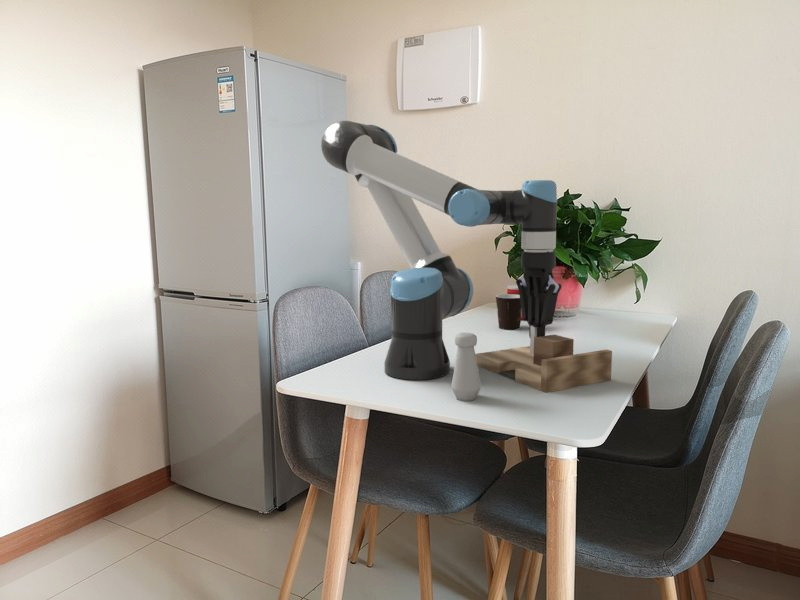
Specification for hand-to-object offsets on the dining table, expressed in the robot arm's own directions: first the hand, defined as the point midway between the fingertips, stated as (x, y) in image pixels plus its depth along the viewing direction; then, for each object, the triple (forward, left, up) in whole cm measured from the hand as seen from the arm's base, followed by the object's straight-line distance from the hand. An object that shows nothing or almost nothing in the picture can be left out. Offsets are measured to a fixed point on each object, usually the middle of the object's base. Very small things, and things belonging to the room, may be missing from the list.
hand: (536, 353), depth 139 cm
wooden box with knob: (0, -1, -4) cm, 4 cm away
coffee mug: (+24, +43, -4) cm, 49 cm away
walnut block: (0, -5, -2) cm, 5 cm away
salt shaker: (-25, -9, -4) cm, 27 cm away
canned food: (+38, +55, -4) cm, 67 cm away
